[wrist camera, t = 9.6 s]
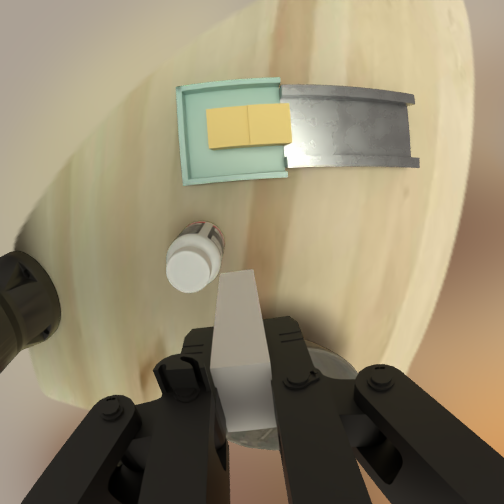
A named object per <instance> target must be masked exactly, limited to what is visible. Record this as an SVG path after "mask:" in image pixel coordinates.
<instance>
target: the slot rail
mask: <svg viewBox="0 0 504 504" xmlns="http://www.w3.org/2000/svg"><path fill="white" fill-rule="evenodd" d="M279 98H280V103H289V106H290V118H291V130H292V143H291V144H288V145H283V148H284V163H285V168H293V167H323V166H381V167H411V168H420V166H419V158H413V157H411V151H410V135H409V122H408V112H407V106H410V105H414V104H415V99H414V95H413V94H407V93H401V92H394V91H387V90H379V89H370V88H360V87H348V86H332V85H281V86H280V89H279Z"/></svg>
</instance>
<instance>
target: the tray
mask: <svg viewBox="0 0 504 504" xmlns="http://www.w3.org/2000/svg"><path fill="white" fill-rule="evenodd" d="M279 85H280V77H276V78H251V79H237V80H225V81H215V82H207V83H199V84H192V85H185V86H178V87H176V100H177V117H178V132H179V146H180V158H181V169H182V180H183V186H186V185H195V184H205V183H215V182H225V181H237V180H250V179H264V178H280V177H288V171H285V163H284V148H283V145H282V146H262V147H247V148H234V149H223V150H211V149H209V145H208V132H207V118H206V109H213V108H222V107H233V106H245V105H254V104H275V103H280V98H279V88H278V87H279Z"/></svg>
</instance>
